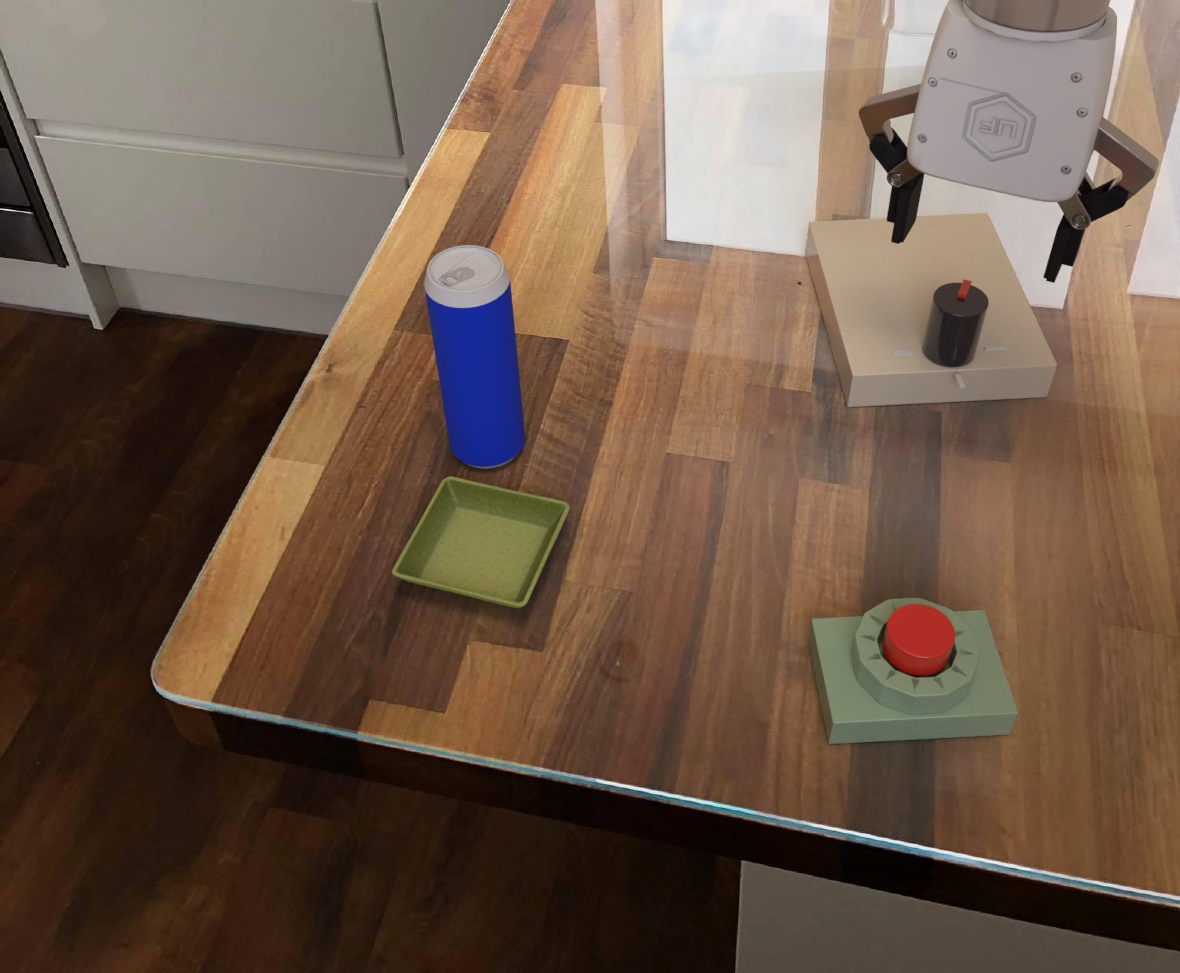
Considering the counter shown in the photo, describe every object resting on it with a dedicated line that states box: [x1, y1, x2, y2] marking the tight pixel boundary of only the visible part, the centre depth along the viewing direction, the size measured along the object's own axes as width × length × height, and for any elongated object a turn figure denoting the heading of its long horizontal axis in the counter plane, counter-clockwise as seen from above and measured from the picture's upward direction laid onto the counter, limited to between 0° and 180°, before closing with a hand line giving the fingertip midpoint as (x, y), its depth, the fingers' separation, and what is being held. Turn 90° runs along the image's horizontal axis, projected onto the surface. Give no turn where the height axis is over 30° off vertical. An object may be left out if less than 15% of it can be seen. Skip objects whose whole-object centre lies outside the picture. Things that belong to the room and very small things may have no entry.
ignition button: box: [883, 604, 955, 676], centre depth 66 cm, size 4×4×2 cm
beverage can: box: [423, 244, 526, 470], centre depth 78 cm, size 5×5×15 cm
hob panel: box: [804, 212, 1058, 408], centre depth 90 cm, size 14×20×3 cm
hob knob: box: [922, 279, 989, 367], centre depth 83 cm, size 4×4×5 cm
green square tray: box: [391, 475, 571, 609], centre depth 76 cm, size 9×9×2 cm
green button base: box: [807, 597, 1019, 745], centre depth 68 cm, size 10×7×4 cm
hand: (976, 250), depth 78 cm, fingers open, 9 cm apart
